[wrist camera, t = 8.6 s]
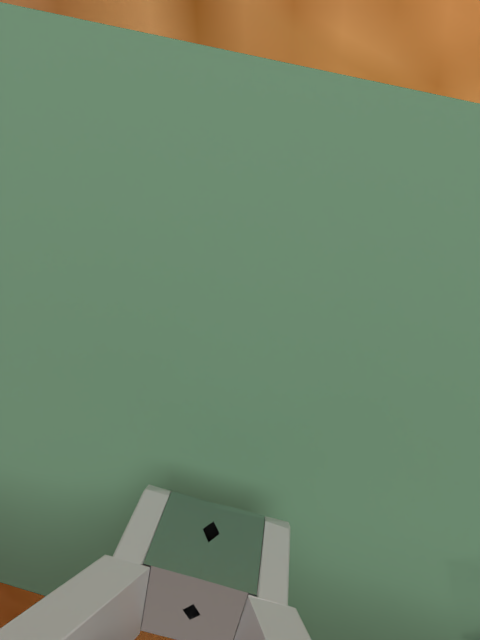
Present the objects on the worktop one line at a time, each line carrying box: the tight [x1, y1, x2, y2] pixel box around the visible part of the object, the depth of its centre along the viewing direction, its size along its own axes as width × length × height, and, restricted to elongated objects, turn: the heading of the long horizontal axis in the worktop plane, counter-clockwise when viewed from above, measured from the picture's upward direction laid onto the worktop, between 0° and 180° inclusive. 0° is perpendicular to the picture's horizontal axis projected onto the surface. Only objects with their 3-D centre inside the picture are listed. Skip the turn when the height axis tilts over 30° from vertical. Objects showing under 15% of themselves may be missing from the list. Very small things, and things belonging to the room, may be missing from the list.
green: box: [0, 2, 480, 640], centre depth 9 cm, size 27×16×5 cm, turn 78°
